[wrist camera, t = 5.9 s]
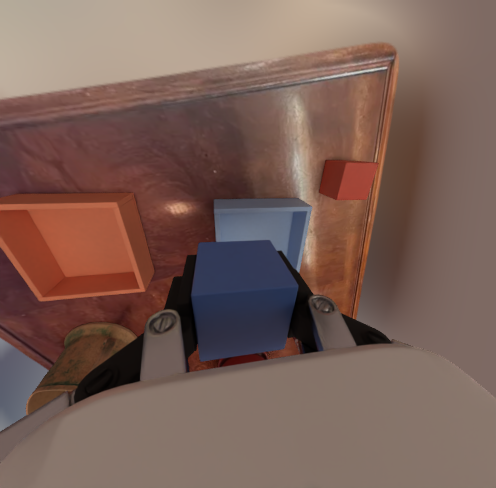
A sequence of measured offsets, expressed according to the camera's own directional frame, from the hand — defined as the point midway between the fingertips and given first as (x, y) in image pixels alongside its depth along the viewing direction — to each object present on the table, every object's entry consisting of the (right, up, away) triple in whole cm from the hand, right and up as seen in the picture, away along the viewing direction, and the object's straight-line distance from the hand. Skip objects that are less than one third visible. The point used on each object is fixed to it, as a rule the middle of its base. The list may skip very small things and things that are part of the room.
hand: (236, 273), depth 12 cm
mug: (-24, -14, +21) cm, 35 cm away
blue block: (0, 0, 0) cm, 0 cm away
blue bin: (+2, +3, +17) cm, 17 cm away
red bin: (-20, +3, +13) cm, 24 cm away
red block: (+13, +12, +14) cm, 23 cm away
